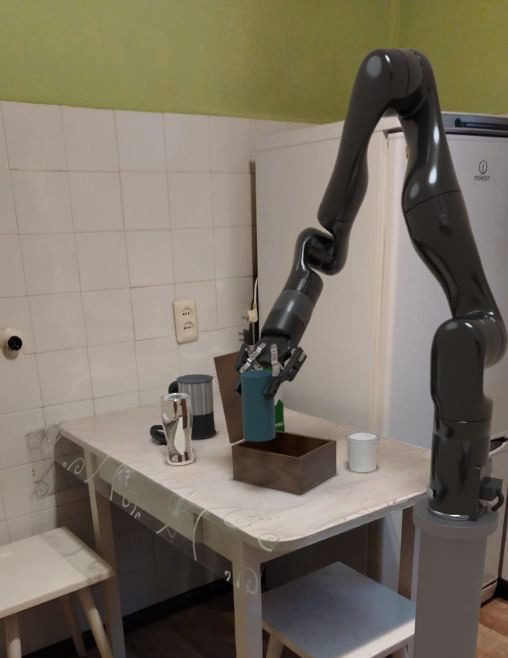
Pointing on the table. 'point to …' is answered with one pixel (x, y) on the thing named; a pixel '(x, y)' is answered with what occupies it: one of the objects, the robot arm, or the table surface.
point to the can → (257, 406)
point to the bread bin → (285, 462)
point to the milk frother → (193, 405)
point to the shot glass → (362, 451)
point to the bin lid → (230, 395)
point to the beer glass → (177, 427)
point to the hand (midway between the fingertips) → (252, 395)
